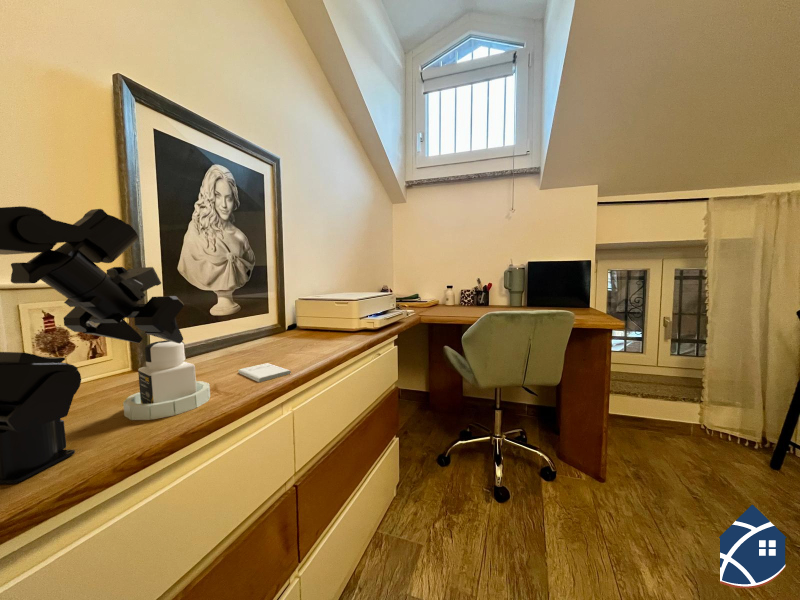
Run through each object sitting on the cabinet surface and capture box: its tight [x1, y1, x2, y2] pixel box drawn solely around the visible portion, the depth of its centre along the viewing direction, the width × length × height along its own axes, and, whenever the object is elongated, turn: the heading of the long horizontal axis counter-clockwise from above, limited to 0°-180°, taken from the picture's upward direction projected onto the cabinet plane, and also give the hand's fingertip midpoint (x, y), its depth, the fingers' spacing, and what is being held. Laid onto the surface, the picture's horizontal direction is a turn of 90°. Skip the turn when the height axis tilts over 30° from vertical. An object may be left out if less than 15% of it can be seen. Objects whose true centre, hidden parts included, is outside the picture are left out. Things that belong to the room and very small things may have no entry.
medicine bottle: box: [137, 340, 197, 404], centre depth 58 cm, size 7×7×12 cm
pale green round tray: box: [122, 380, 211, 421], centre depth 59 cm, size 13×13×2 cm
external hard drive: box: [237, 362, 292, 383], centre depth 78 cm, size 2×8×12 cm
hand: (160, 341), depth 57 cm, fingers open, 9 cm apart
